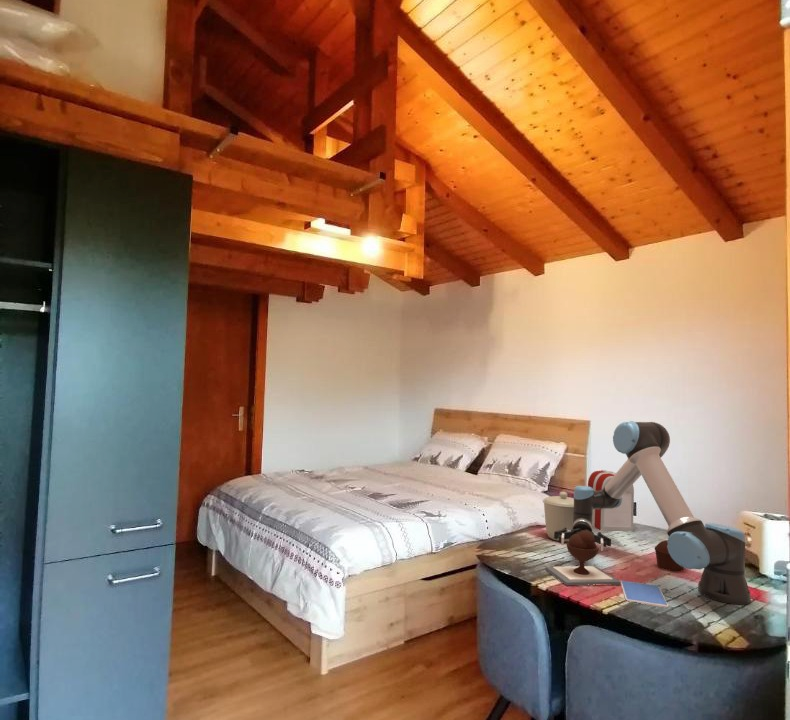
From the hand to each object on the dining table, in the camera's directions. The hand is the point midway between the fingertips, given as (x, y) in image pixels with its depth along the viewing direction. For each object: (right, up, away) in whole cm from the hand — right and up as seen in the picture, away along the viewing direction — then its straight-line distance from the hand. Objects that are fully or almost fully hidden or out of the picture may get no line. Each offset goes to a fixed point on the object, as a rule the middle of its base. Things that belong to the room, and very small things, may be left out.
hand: (582, 544), depth 195 cm
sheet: (-1, -10, -2) cm, 10 cm away
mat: (-1, -11, -2) cm, 11 cm away
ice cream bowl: (-1, -10, -2) cm, 10 cm away
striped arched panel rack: (+39, -17, +75) cm, 86 cm away
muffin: (+39, -14, +14) cm, 44 cm away
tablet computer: (+15, -12, -16) cm, 25 cm away
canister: (+8, -14, +48) cm, 50 cm away
